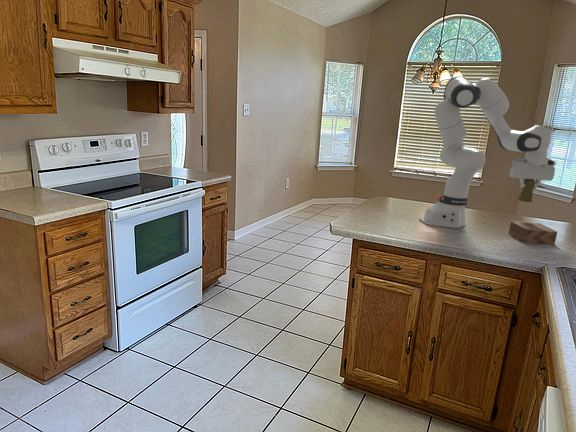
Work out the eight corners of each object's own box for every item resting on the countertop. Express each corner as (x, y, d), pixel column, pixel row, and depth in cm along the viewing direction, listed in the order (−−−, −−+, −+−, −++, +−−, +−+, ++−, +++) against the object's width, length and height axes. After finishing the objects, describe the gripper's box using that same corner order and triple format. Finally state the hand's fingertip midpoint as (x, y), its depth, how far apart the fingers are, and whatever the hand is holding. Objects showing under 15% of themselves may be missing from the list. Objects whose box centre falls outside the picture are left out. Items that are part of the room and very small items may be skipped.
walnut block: (523, 242, 191) (526, 229, 190) (508, 233, 205) (511, 221, 203) (554, 244, 192) (557, 231, 190) (537, 235, 205) (539, 223, 204)
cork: (533, 202, 205) (539, 180, 202) (520, 201, 206) (526, 179, 203) (529, 200, 211) (534, 178, 208) (516, 198, 211) (521, 177, 209)
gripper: (517, 159, 199) (510, 187, 203) (559, 162, 200) (552, 191, 203) (510, 157, 205) (504, 185, 209) (551, 160, 206) (544, 188, 209)
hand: (528, 188), depth 206 cm, fingers closed on cork, 4 cm apart
